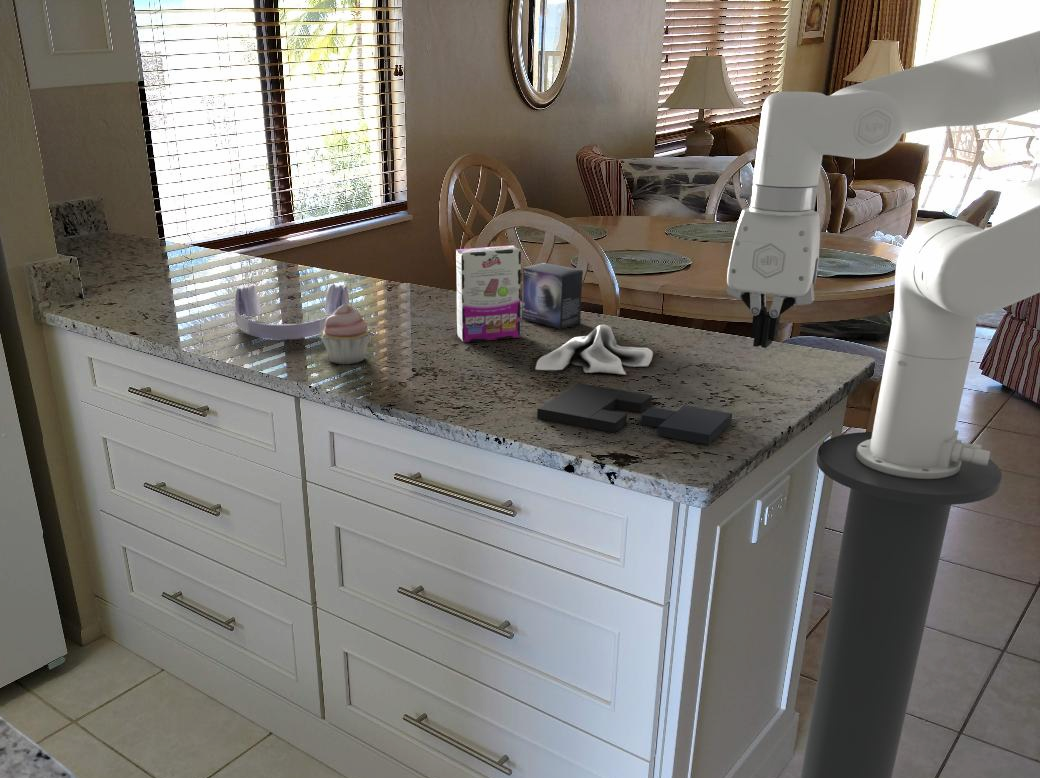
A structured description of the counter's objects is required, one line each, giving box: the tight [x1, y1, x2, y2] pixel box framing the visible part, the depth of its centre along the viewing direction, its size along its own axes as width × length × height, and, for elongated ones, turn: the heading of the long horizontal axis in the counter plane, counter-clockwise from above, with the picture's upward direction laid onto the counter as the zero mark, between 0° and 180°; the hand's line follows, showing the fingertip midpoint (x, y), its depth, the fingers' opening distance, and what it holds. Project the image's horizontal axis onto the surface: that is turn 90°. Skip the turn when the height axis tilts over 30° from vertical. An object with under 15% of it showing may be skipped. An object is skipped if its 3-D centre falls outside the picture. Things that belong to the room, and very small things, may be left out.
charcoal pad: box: [640, 404, 733, 446], centre depth 139 cm, size 11×10×2 cm
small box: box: [520, 262, 584, 330], centre depth 192 cm, size 11×6×10 cm, turn 40°
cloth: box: [534, 324, 654, 376], centre depth 169 cm, size 22×19×6 cm
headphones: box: [233, 283, 350, 340], centre depth 195 cm, size 22×7×20 cm
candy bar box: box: [455, 245, 522, 343], centre depth 182 cm, size 11×5×16 cm, turn 101°
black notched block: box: [536, 382, 653, 434], centre depth 146 cm, size 12×14×2 cm
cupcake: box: [318, 304, 374, 365], centre depth 171 cm, size 9×9×10 cm
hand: (762, 344), depth 129 cm, fingers closed
